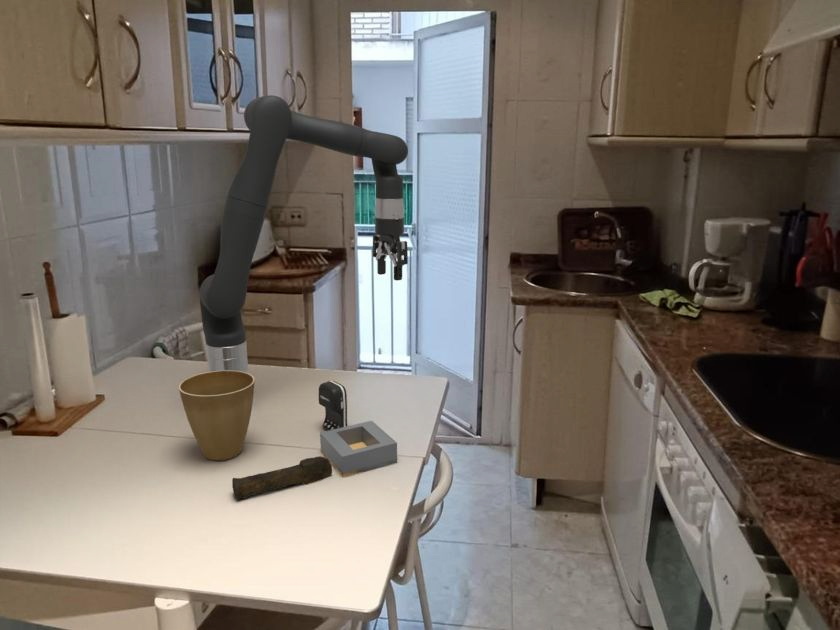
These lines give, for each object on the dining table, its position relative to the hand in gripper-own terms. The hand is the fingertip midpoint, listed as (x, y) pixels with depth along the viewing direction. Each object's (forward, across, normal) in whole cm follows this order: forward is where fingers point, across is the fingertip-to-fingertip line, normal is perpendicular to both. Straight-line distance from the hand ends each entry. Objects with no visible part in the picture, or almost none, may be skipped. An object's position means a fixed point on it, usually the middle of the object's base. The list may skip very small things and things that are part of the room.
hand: (389, 277), depth 168 cm
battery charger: (+29, +22, -28) cm, 46 cm away
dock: (+29, +36, -29) cm, 54 cm away
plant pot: (+29, +18, -52) cm, 62 cm away
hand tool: (+29, +38, -46) cm, 66 cm away
